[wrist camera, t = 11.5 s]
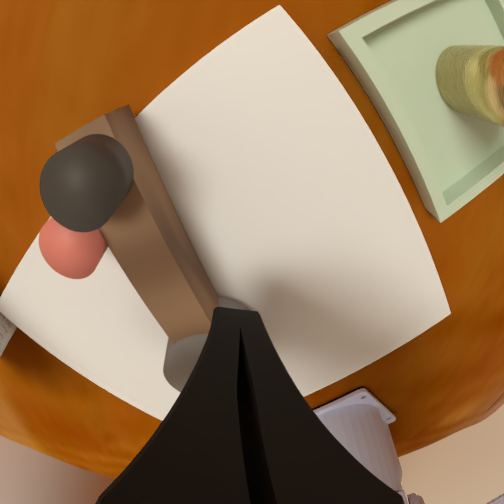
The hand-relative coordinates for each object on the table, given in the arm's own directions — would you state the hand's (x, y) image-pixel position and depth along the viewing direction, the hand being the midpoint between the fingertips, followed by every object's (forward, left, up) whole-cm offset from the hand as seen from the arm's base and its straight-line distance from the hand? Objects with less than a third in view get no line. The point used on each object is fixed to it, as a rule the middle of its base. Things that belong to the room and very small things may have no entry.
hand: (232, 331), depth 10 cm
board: (-3, +3, -5) cm, 7 cm away
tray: (0, -13, -5) cm, 14 cm away
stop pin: (+1, -13, -5) cm, 14 cm away
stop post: (+5, +3, -5) cm, 8 cm away
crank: (+1, +2, -4) cm, 5 cm away
